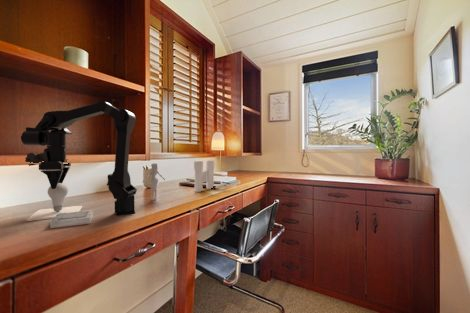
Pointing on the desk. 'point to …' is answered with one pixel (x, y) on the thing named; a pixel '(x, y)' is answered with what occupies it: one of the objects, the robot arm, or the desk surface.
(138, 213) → the desk surface
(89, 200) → the desk surface
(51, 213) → the mat
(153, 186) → the human figurine
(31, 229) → the desk surface
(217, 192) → the desk surface
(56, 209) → the lightbulb
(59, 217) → the grey flat square frame
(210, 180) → the binoculars
